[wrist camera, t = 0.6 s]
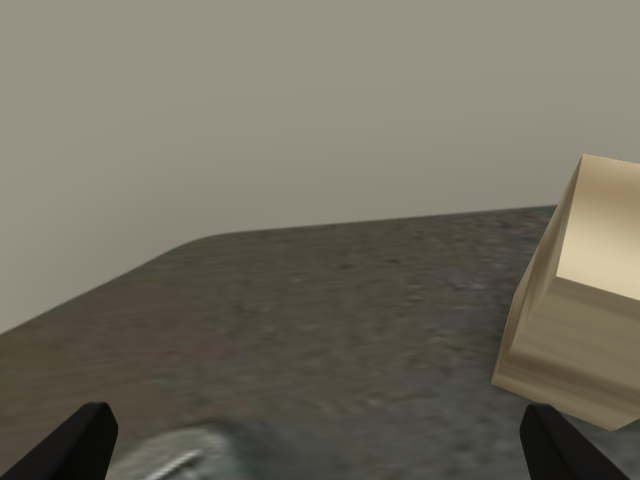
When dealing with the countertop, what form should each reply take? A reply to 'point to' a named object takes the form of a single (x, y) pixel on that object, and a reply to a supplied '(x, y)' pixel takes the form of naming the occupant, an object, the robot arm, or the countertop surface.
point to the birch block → (582, 303)
